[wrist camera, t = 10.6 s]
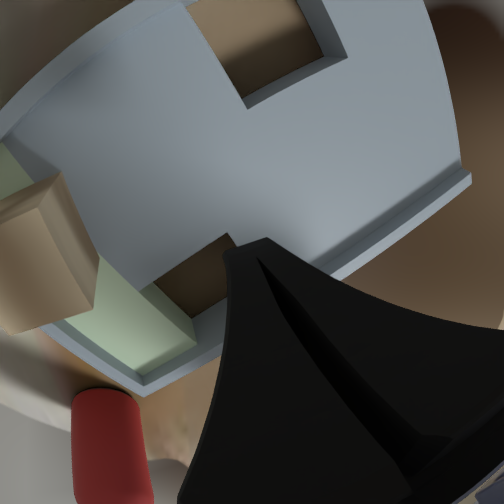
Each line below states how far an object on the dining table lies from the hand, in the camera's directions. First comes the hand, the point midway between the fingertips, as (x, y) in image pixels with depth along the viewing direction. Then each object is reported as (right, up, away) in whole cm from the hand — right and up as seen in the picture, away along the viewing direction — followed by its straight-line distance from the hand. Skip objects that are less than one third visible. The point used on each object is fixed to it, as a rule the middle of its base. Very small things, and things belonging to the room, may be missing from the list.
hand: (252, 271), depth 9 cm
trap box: (-1, +6, +8) cm, 10 cm away
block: (-11, +1, +4) cm, 12 cm away
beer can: (-14, -13, +16) cm, 25 cm away
